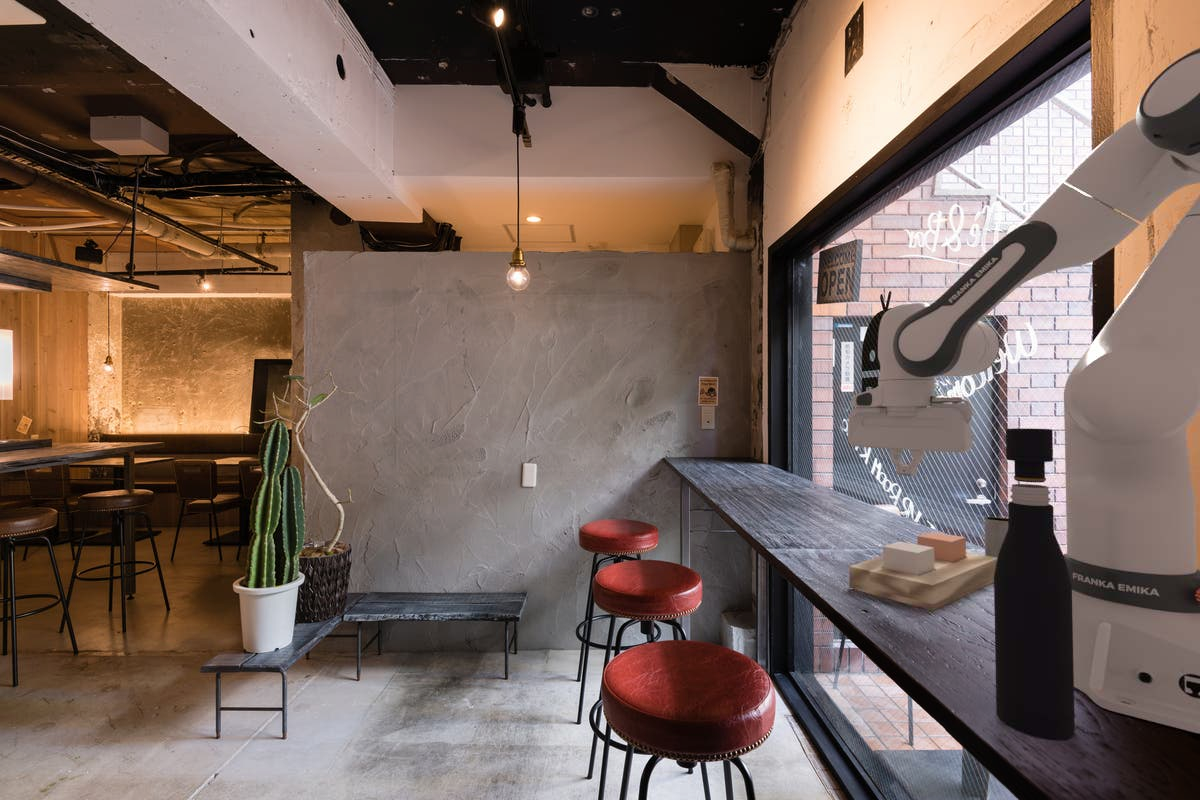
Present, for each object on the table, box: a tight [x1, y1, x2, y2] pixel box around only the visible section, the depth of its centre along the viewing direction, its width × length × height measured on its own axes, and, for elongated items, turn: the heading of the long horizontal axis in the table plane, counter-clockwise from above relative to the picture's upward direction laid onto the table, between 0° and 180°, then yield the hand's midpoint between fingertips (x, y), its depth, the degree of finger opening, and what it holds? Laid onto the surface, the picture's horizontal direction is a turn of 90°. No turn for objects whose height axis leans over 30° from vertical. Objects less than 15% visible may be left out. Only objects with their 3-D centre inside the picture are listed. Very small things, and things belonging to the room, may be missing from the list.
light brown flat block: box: [848, 551, 997, 611], centre depth 105 cm, size 14×27×4 cm, turn 127°
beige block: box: [882, 541, 935, 576], centre depth 101 cm, size 6×6×4 cm
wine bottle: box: [993, 427, 1076, 741], centre depth 59 cm, size 6×6×30 cm
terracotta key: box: [917, 531, 967, 563], centre depth 109 cm, size 6×6×4 cm
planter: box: [984, 516, 1008, 558], centre depth 112 cm, size 4×4×10 cm
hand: (906, 475), depth 101 cm, fingers closed
